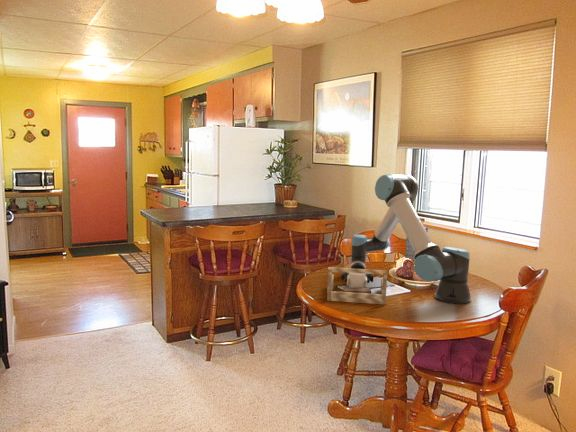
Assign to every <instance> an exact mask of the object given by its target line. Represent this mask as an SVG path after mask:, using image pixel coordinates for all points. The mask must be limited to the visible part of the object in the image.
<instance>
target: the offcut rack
mask: <svg viewBox="0 0 576 432" xmlns="http://www.w3.org/2000/svg"><path fill="white" fill-rule="evenodd" d="M333 272H334V273H335V272H336V273H343V272H347V273H364V274H372V275H380V276H381V275H382V277H380V278H381V287H380V293H379V294H378V293H371V294H367V293H352V292H340V291H335V290H334V285H335V284H334V283H335V281H334V280H335V274H333ZM387 281H388V270H385V269H384V270H383V269H370V268H369V269H368V268H367V269H366V268H365V269H353V268H348V267H332V266H331V267H330V266H328V268H327V290H326V292H327V294H326V295H327V296H326V301H329V302H331V301H332V302H345V303H346V302H347V303H358V304H359V303H361V304H371V305H372V304H373V305H377V304H378V305H386V300H387V287H386V285H387Z"/></svg>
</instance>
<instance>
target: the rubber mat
mask: <svg viewBox="0 0 576 432" xmlns="http://www.w3.org/2000/svg"><path fill="white" fill-rule="evenodd" d="M388 286H390V287H395V284H393V283H392V282H390V281H388V280H387V285H386V288H387V287H388ZM365 288H370V289H378V288H380V289H381V277H379V276H375V277H374V276H373V282H371V281H370V283H367V286H365ZM388 288H389V287H388Z"/></svg>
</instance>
